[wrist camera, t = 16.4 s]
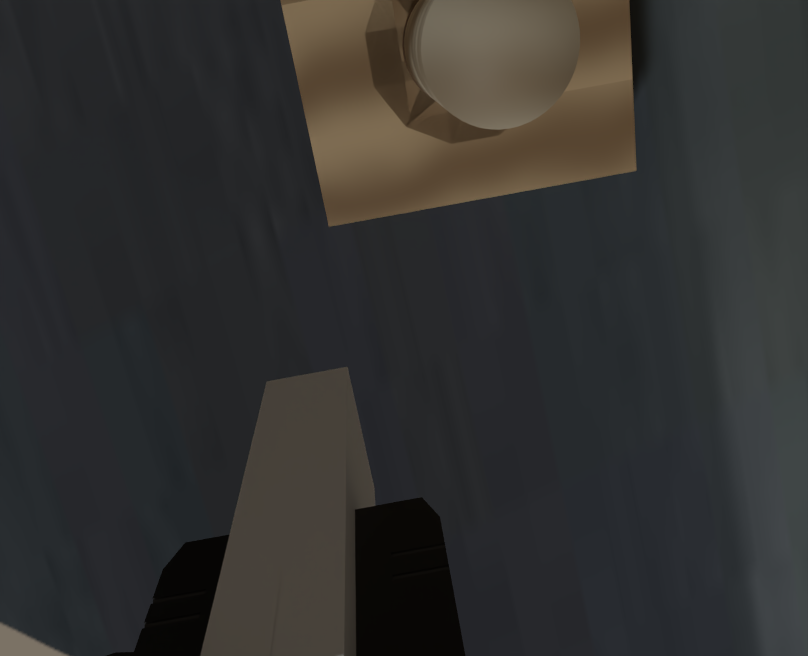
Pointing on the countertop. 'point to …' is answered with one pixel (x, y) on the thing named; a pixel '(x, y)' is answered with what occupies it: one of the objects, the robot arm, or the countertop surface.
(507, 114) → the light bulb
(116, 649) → the countertop surface
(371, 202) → the block
